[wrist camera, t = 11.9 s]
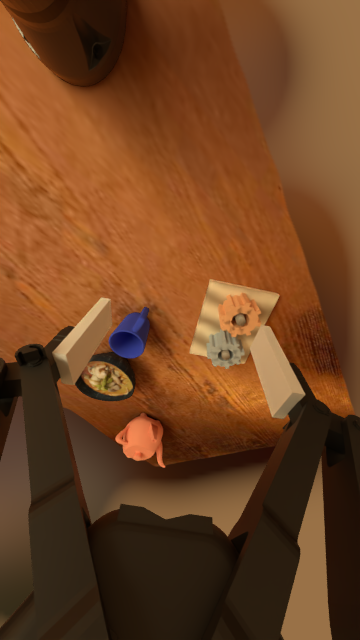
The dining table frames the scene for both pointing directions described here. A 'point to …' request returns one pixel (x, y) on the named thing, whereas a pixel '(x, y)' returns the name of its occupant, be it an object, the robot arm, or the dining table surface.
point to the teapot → (142, 438)
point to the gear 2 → (224, 343)
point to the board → (213, 314)
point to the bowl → (107, 378)
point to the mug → (131, 335)
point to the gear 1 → (235, 307)
